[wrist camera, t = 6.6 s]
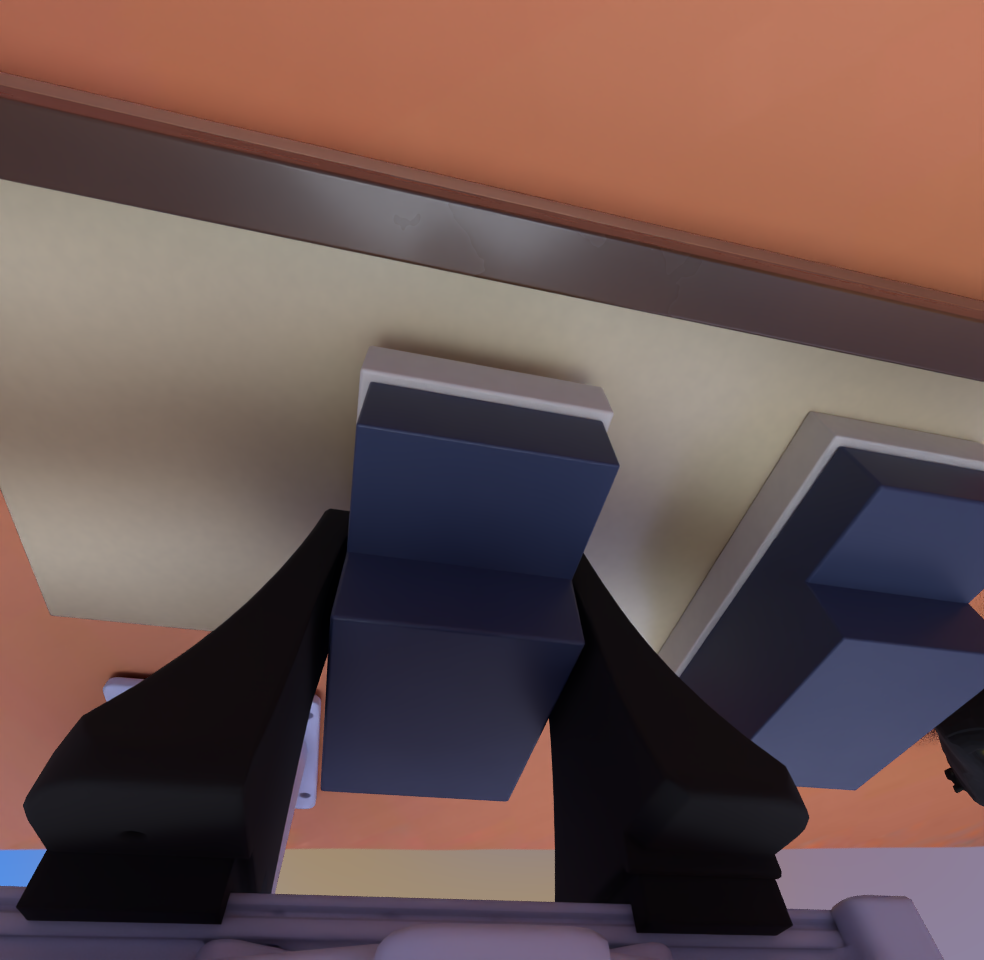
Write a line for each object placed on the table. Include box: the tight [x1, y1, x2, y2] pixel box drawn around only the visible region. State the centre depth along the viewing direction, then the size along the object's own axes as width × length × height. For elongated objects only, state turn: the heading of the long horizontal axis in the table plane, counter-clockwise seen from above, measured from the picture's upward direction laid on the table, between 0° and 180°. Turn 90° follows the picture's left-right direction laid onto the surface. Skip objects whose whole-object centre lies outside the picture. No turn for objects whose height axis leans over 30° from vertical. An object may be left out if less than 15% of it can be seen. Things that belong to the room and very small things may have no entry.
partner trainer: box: [658, 411, 984, 790], centre depth 15 cm, size 10×5×4 cm, turn 168°
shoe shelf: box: [0, 72, 984, 654], centre depth 15 cm, size 14×25×3 cm, turn 78°
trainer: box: [321, 346, 620, 801], centre depth 12 cm, size 10×5×4 cm, turn 168°
